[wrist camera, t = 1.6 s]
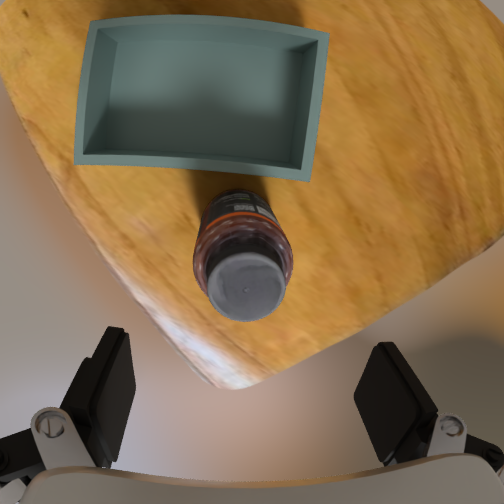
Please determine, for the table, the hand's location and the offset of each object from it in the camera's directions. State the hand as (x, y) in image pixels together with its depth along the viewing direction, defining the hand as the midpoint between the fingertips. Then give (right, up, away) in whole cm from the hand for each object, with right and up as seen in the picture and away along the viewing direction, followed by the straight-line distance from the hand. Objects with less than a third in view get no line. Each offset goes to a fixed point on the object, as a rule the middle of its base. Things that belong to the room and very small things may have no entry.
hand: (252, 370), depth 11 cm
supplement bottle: (-1, +7, +15) cm, 17 cm away
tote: (-4, +16, +11) cm, 20 cm away
